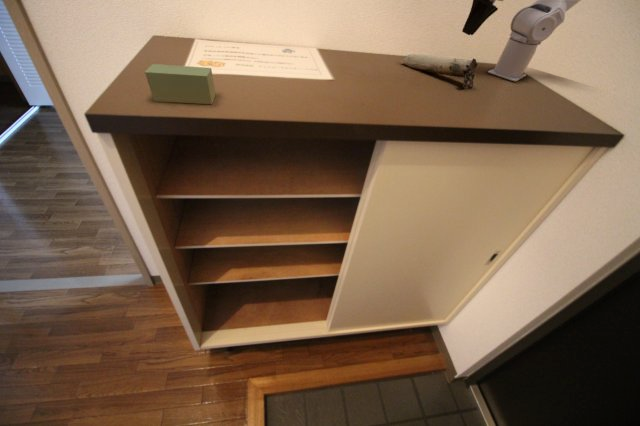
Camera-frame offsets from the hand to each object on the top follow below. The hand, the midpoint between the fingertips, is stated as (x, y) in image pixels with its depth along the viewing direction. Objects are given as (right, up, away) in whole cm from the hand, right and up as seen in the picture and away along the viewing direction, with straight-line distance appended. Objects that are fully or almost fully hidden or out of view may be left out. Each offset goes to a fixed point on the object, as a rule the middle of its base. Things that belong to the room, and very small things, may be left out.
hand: (467, 33), depth 74 cm
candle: (-8, -11, +1) cm, 14 cm away
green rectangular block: (-63, -25, -21) cm, 71 cm away
